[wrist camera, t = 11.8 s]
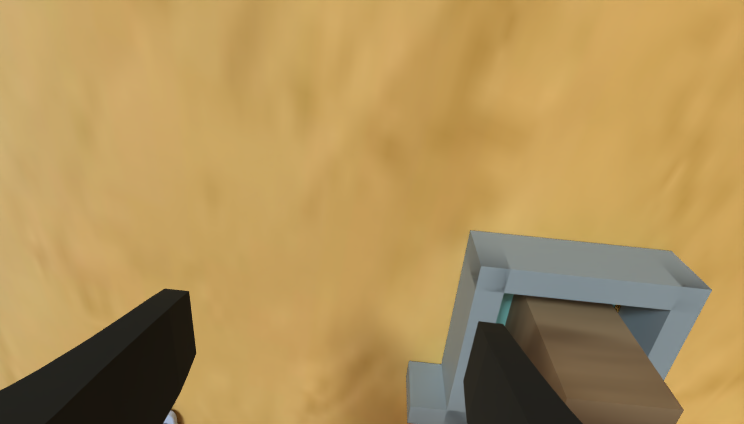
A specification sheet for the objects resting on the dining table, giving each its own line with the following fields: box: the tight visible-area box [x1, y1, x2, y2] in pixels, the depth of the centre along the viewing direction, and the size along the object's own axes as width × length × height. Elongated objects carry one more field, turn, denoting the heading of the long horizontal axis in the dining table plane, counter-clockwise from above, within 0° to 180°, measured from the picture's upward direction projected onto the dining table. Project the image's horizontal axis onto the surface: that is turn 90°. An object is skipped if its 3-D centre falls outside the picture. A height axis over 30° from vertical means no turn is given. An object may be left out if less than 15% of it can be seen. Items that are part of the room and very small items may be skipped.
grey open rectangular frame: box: [406, 230, 712, 424], centre depth 24 cm, size 18×11×3 cm, turn 175°
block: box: [505, 294, 684, 424], centre depth 19 cm, size 4×4×7 cm
